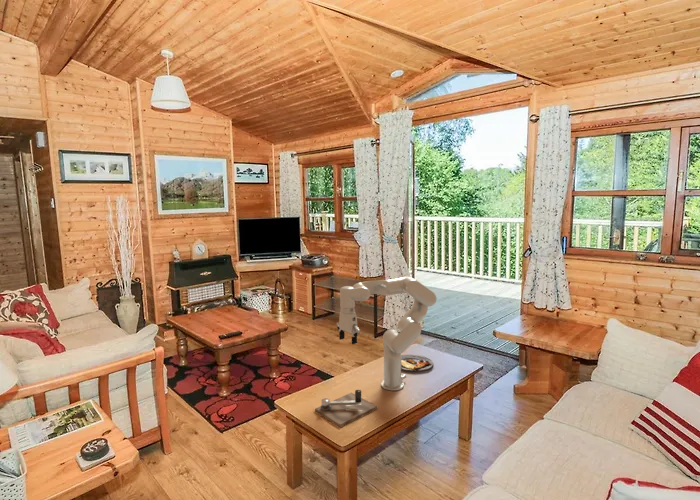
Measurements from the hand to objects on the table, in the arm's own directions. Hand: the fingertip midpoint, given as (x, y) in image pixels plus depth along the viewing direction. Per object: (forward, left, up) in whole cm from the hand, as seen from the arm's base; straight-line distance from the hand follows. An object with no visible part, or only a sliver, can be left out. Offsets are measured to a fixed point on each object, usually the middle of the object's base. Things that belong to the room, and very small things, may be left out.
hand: (348, 341), depth 215 cm
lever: (+16, +13, -25) cm, 32 cm away
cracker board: (+14, +14, -28) cm, 34 cm away
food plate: (-52, +2, -29) cm, 60 cm away
